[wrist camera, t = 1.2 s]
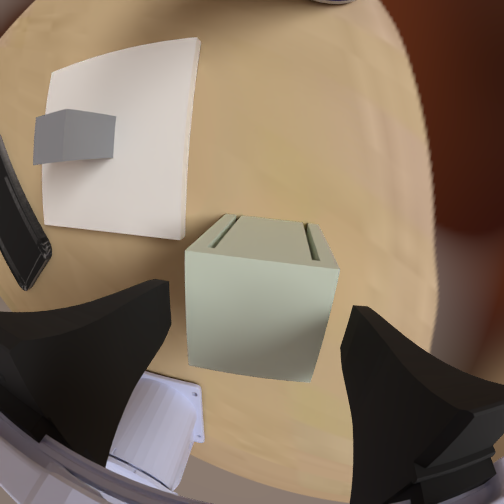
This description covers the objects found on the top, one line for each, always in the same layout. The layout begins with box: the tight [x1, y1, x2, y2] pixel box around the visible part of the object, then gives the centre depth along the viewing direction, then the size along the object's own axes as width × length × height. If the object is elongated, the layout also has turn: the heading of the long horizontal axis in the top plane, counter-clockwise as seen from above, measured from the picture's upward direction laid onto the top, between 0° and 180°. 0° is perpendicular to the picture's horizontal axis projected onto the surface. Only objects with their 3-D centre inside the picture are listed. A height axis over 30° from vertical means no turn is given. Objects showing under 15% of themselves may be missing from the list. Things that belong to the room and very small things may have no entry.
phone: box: [0, 135, 52, 291], centre depth 17 cm, size 8×1×15 cm
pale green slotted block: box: [185, 214, 340, 382], centre depth 13 cm, size 5×5×7 cm
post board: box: [33, 37, 201, 240], centre depth 12 cm, size 12×12×5 cm
